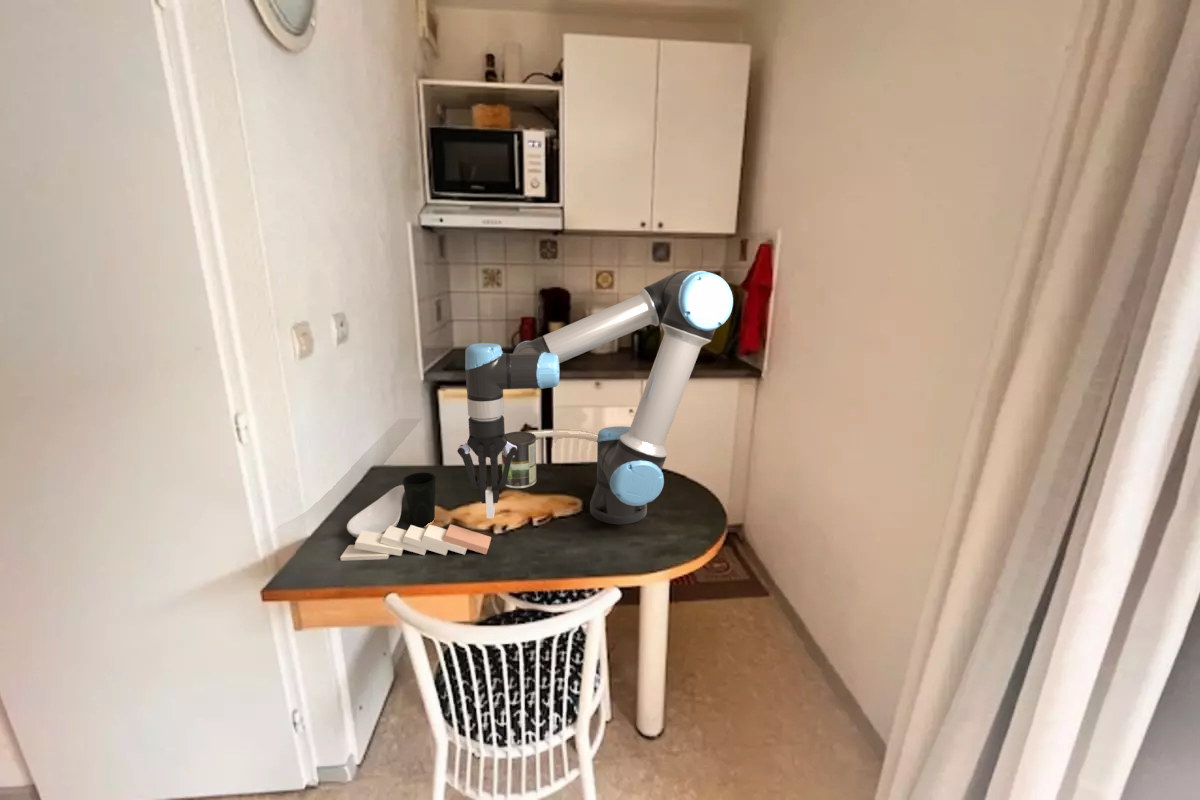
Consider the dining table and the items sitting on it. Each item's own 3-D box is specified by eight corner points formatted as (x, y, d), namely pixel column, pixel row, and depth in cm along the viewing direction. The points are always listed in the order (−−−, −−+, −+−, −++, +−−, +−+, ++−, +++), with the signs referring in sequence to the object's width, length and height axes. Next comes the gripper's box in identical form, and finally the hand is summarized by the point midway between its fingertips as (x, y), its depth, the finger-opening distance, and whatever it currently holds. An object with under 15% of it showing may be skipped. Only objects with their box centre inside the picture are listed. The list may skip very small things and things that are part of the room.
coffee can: (514, 491, 150) (513, 445, 146) (495, 480, 157) (493, 436, 153) (543, 482, 156) (543, 437, 153) (524, 471, 164) (522, 429, 160)
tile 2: (452, 537, 122) (410, 524, 121) (448, 549, 117) (404, 536, 116) (450, 543, 122) (408, 530, 121) (445, 555, 118) (402, 542, 116)
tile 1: (471, 537, 122) (429, 524, 121) (466, 548, 117) (423, 535, 116) (468, 543, 123) (427, 529, 121) (464, 554, 118) (421, 541, 116)
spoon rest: (382, 550, 120) (379, 522, 118) (337, 544, 122) (333, 516, 120) (434, 504, 142) (432, 479, 140) (395, 499, 144) (392, 475, 142)
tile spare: (491, 537, 123) (450, 524, 121) (488, 548, 118) (445, 535, 116) (489, 542, 123) (448, 529, 121) (486, 554, 118) (443, 541, 117)
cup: (406, 517, 134) (402, 474, 131) (437, 513, 137) (434, 470, 133) (407, 532, 127) (403, 486, 124) (439, 527, 130) (436, 482, 127)
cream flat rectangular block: (393, 543, 120) (348, 545, 120) (387, 555, 116) (340, 557, 115) (394, 549, 121) (349, 551, 120) (388, 561, 116) (341, 563, 115)
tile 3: (432, 537, 122) (389, 525, 121) (426, 549, 117) (382, 536, 116) (430, 543, 122) (388, 531, 121) (424, 555, 117) (380, 542, 116)
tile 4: (407, 538, 121) (362, 530, 119) (402, 549, 116) (355, 542, 114) (405, 544, 122) (361, 536, 120) (401, 556, 117) (354, 548, 115)
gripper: (518, 410, 116) (521, 507, 123) (458, 411, 115) (464, 508, 122) (515, 421, 109) (518, 522, 115) (451, 421, 108) (458, 524, 114)
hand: (490, 515), depth 118 cm, fingers closed
